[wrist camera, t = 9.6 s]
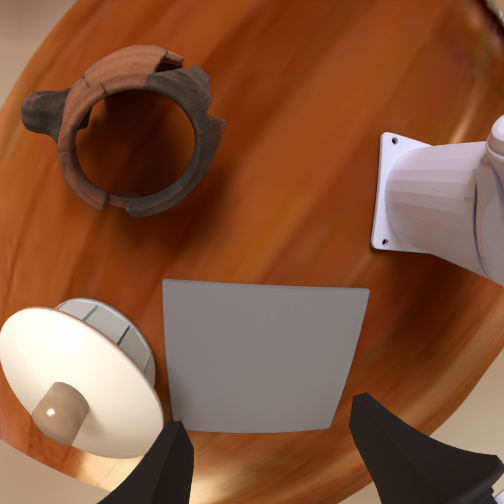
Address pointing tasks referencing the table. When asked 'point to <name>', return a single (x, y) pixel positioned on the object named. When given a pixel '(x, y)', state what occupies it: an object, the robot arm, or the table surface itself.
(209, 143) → the dark brown rounded loops
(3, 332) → the lid
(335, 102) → the table surface
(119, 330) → the bowl
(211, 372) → the mat
